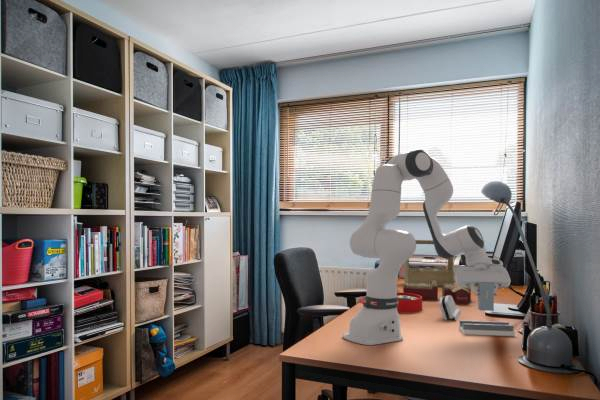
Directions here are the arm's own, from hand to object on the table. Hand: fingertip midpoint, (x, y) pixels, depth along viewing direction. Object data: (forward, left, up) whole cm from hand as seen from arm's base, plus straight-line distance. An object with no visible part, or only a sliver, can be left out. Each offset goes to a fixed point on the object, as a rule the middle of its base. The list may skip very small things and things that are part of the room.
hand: (486, 294), depth 167 cm
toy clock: (+10, +48, -15) cm, 51 cm away
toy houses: (+37, +54, -15) cm, 67 cm away
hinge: (+13, +24, -15) cm, 31 cm away
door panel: (0, 0, -6) cm, 6 cm away
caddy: (+80, +82, -15) cm, 116 cm away
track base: (0, 0, -14) cm, 14 cm away
